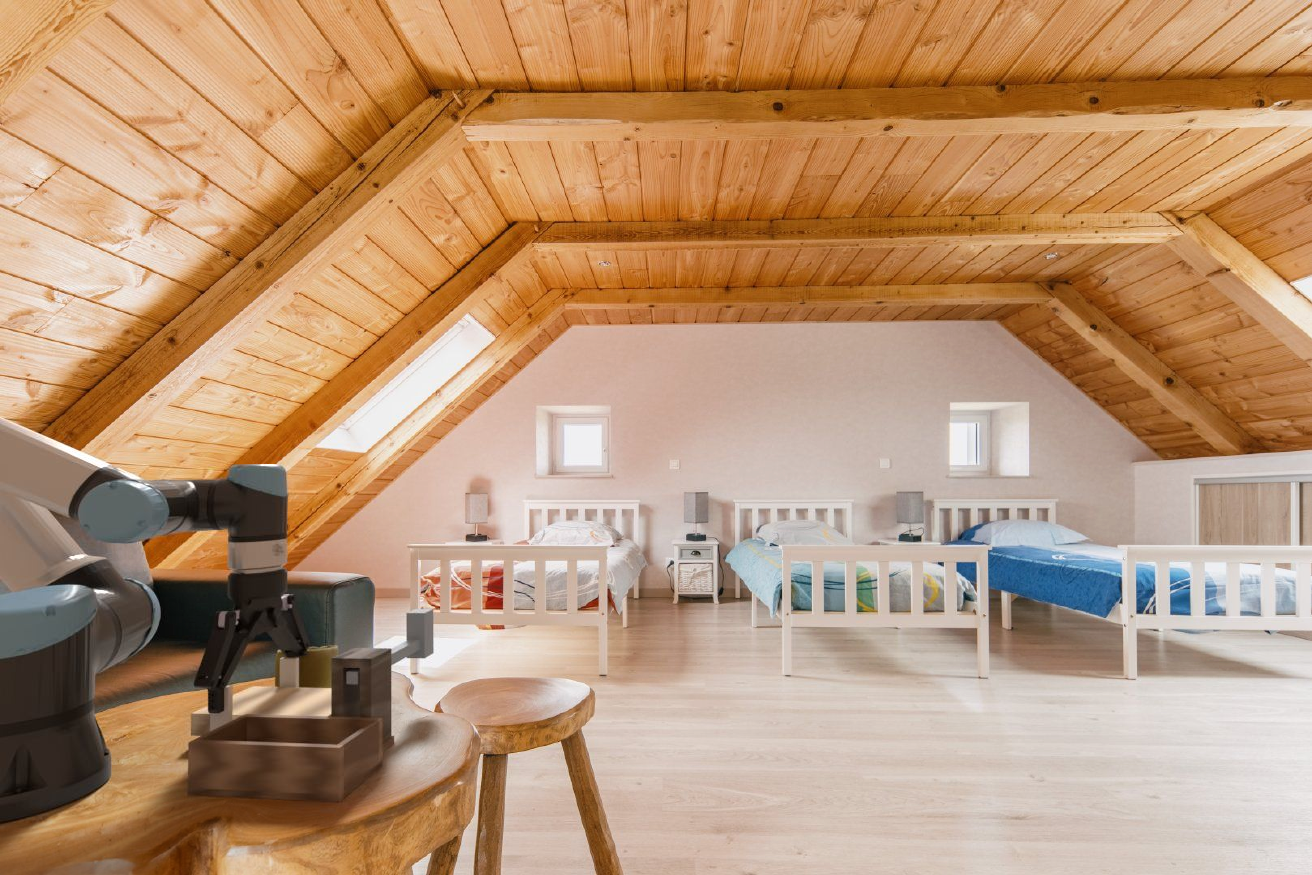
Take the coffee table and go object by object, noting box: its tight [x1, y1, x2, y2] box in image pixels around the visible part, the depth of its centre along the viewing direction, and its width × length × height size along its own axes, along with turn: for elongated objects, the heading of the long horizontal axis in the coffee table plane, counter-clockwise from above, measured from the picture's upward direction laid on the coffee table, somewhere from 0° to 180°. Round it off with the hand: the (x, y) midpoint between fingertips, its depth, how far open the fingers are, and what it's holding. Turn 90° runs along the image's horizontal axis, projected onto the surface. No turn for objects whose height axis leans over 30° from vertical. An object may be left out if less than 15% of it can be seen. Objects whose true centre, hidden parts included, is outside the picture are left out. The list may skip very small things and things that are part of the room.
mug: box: [274, 644, 340, 688], centre depth 111 cm, size 12×10×10 cm
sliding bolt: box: [346, 608, 434, 684], centre depth 97 cm, size 3×20×7 cm, turn 172°
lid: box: [190, 685, 331, 737], centre depth 95 cm, size 20×12×4 cm, turn 82°
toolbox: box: [187, 647, 395, 803], centre depth 84 cm, size 19×16×13 cm
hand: (257, 717), depth 96 cm, fingers open, 13 cm apart
